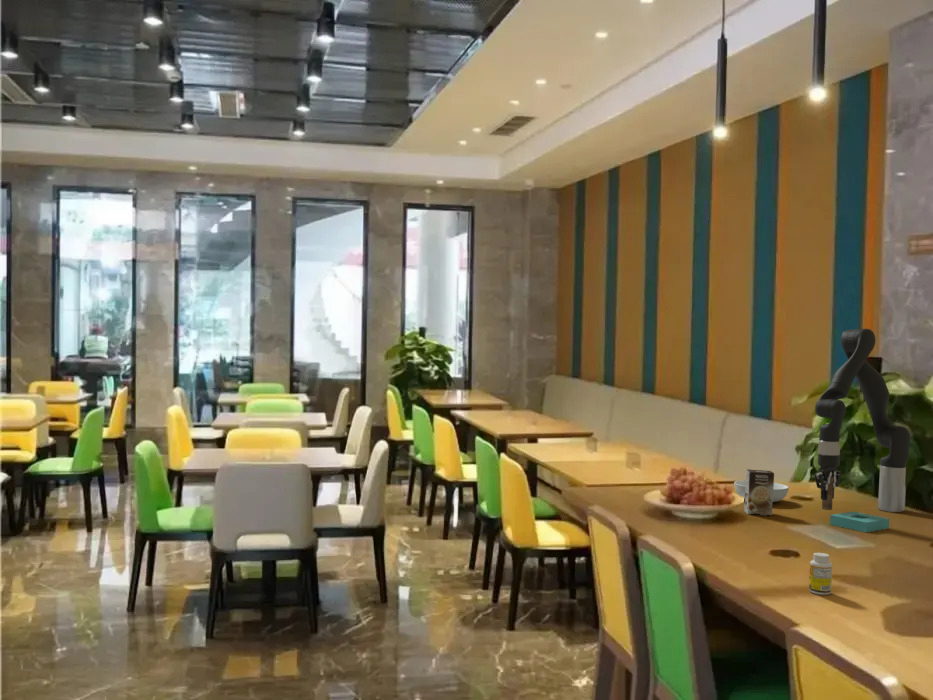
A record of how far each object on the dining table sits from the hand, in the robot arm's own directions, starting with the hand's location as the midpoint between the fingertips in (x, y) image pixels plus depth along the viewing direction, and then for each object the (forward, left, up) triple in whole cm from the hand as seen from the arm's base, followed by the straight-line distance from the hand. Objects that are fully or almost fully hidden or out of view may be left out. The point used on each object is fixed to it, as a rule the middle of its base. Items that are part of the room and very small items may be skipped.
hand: (827, 499), depth 349 cm
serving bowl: (-5, -33, -7) cm, 34 cm away
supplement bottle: (+89, +59, -7) cm, 107 cm away
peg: (0, 0, -4) cm, 4 cm away
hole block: (+2, +15, -7) cm, 16 cm away
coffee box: (+17, -17, -7) cm, 25 cm away
